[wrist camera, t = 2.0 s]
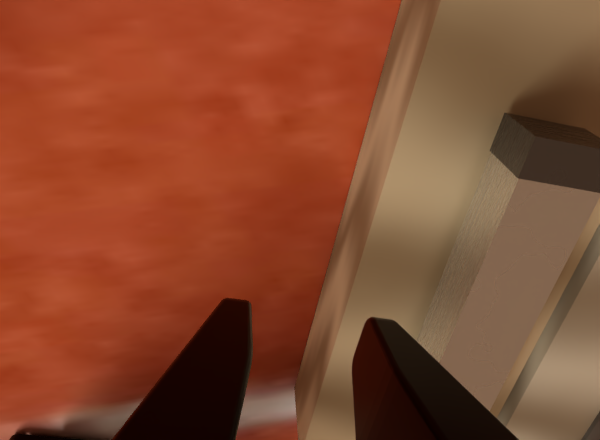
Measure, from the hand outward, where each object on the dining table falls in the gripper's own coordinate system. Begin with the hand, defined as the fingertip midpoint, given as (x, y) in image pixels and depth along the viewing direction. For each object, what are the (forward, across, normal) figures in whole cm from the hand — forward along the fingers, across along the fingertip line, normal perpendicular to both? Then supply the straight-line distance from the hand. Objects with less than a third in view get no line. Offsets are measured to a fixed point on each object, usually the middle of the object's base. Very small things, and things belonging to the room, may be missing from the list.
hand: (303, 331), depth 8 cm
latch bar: (+9, -7, +5) cm, 12 cm away
